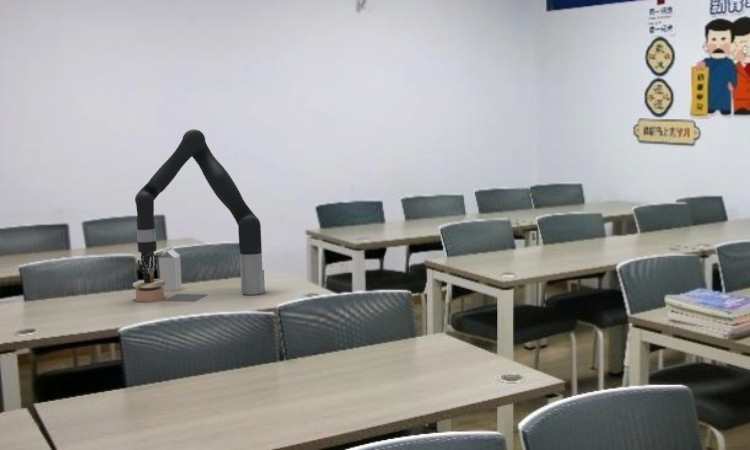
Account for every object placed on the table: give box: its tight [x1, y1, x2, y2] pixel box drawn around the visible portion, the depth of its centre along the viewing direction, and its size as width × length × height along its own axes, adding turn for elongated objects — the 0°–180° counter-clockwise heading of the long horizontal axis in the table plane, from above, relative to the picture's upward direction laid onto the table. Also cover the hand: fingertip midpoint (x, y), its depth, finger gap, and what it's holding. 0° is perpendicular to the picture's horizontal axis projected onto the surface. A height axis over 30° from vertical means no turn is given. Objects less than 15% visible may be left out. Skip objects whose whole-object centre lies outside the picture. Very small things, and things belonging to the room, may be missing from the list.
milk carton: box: [158, 246, 183, 292], centre depth 359 cm, size 7×7×19 cm
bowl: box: [135, 286, 165, 303], centre depth 340 cm, size 11×11×5 cm
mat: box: [163, 293, 209, 303], centre depth 342 cm, size 14×14×1 cm
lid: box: [132, 268, 165, 289], centre depth 339 cm, size 13×13×7 cm
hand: (149, 281), depth 340 cm, fingers closed on lid, 3 cm apart
